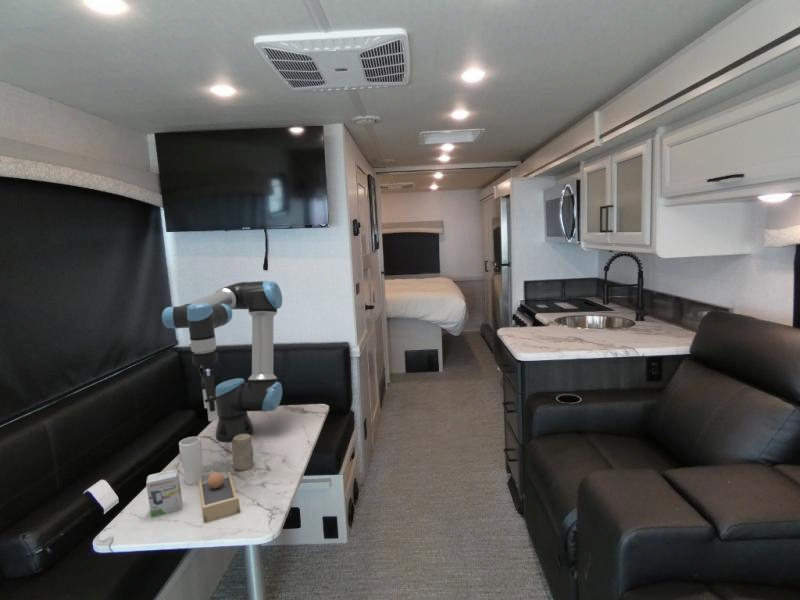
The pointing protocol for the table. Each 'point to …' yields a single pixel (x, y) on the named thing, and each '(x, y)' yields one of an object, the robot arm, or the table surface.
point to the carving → (242, 452)
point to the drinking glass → (191, 459)
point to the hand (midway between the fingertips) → (211, 413)
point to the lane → (219, 500)
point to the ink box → (164, 492)
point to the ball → (215, 480)
